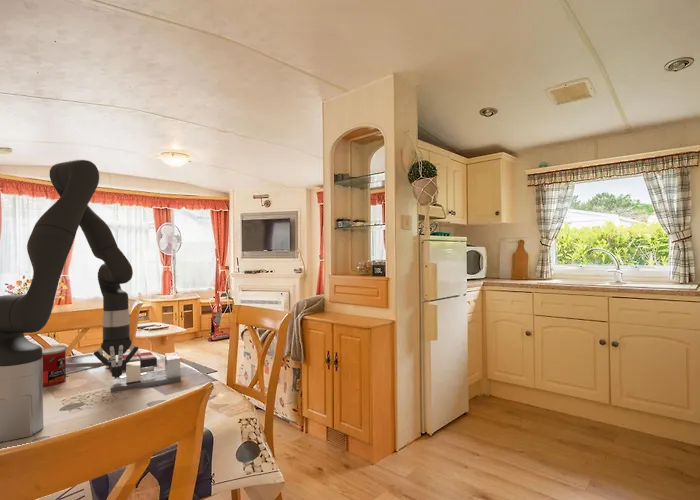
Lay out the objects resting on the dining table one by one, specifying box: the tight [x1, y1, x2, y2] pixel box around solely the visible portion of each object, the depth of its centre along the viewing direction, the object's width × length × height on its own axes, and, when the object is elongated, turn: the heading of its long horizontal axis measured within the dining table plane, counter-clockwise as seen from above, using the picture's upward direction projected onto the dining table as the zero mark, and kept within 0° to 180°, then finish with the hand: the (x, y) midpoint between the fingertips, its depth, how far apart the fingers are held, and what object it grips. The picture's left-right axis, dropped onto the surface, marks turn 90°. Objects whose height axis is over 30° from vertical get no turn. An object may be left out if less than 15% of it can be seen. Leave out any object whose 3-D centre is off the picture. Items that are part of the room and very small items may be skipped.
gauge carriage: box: [125, 361, 155, 383], centre depth 131 cm, size 10×8×5 cm
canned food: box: [42, 346, 67, 387], centre depth 133 cm, size 8×8×11 cm
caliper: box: [66, 361, 105, 369], centre depth 146 cm, size 20×1×6 cm, turn 137°
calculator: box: [107, 351, 158, 374], centre depth 151 cm, size 11×4×15 cm
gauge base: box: [110, 351, 182, 394], centre depth 131 cm, size 12×20×8 cm, turn 119°
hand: (117, 377), depth 127 cm, fingers closed
